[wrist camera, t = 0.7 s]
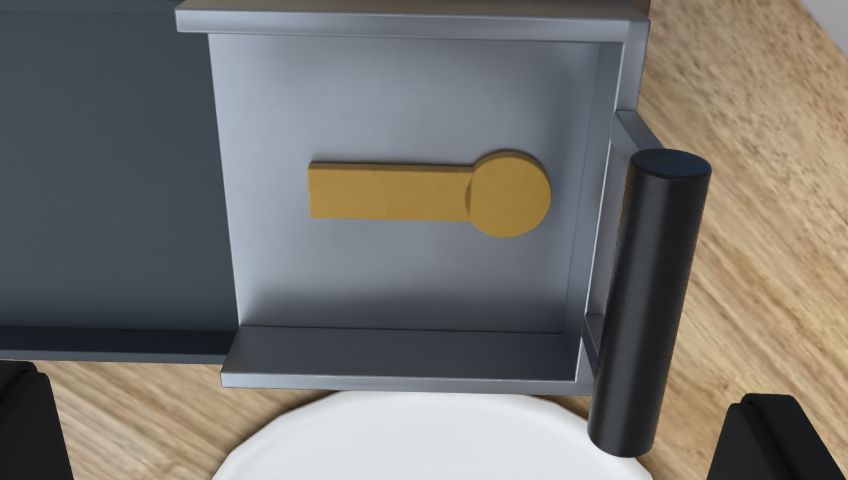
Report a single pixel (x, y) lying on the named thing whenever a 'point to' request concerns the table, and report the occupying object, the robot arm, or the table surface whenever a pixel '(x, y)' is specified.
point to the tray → (110, 187)
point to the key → (436, 193)
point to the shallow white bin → (452, 240)
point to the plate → (426, 441)
